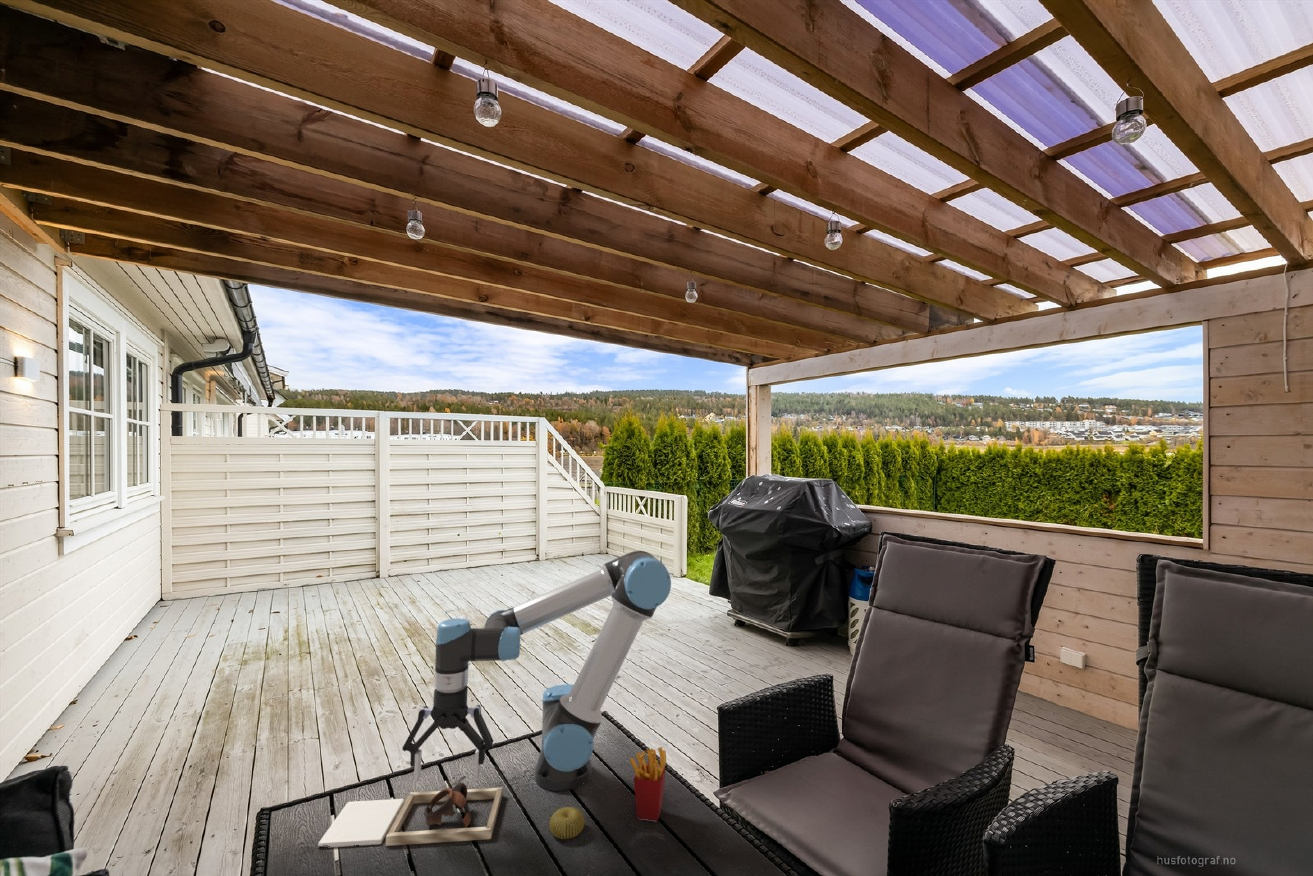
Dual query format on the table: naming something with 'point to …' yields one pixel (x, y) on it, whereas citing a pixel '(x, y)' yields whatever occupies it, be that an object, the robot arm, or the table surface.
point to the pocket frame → (445, 834)
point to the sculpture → (567, 822)
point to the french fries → (649, 784)
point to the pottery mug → (449, 805)
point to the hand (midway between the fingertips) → (447, 778)
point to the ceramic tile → (362, 823)
